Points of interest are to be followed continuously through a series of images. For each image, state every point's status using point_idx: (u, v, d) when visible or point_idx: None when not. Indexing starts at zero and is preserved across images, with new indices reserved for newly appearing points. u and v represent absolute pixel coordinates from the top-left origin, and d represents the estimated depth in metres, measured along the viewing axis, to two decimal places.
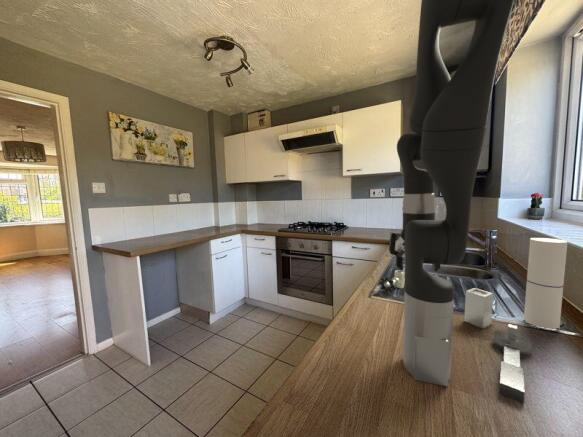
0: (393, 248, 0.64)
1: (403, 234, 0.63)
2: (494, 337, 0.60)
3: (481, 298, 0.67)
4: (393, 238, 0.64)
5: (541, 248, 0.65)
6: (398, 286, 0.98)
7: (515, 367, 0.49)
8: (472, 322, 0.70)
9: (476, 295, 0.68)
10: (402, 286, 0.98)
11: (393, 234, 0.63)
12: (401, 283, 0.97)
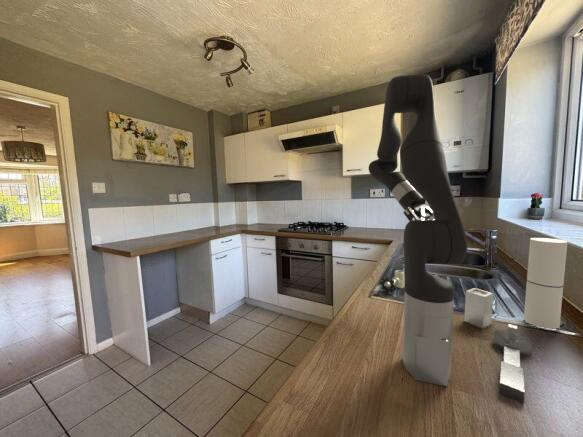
0: (416, 216, 0.75)
1: (413, 208, 0.78)
2: (494, 337, 0.60)
3: (481, 298, 0.67)
4: (411, 210, 0.76)
5: (541, 248, 0.65)
6: (398, 286, 0.98)
7: (515, 367, 0.49)
8: (472, 322, 0.70)
9: (476, 295, 0.68)
10: (402, 286, 0.98)
11: (409, 207, 0.77)
12: (401, 283, 0.97)
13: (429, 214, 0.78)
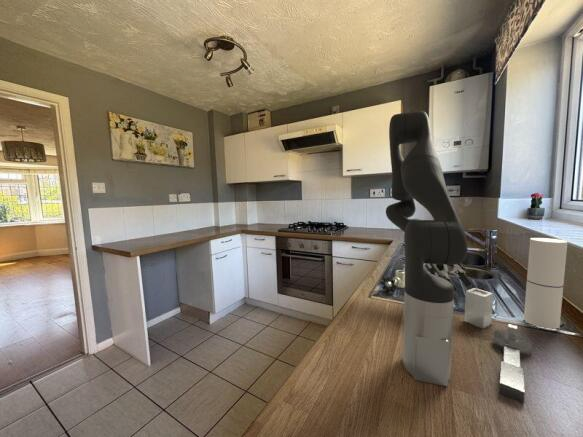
0: (439, 272, 0.73)
1: None
2: (494, 337, 0.60)
3: (481, 298, 0.67)
4: (433, 264, 0.75)
5: (541, 248, 0.65)
6: (399, 286, 0.98)
7: (515, 367, 0.49)
8: (472, 322, 0.70)
9: (476, 295, 0.68)
10: (403, 286, 0.98)
11: None
12: (402, 283, 0.98)
13: (451, 267, 0.77)
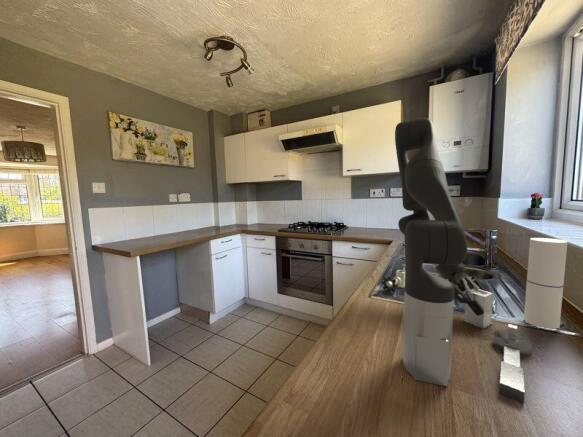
0: (463, 294, 0.69)
1: (454, 280, 0.72)
2: (494, 337, 0.60)
3: (481, 298, 0.67)
4: (455, 286, 0.70)
5: (541, 248, 0.65)
6: (400, 285, 0.98)
7: (515, 367, 0.49)
8: (472, 322, 0.70)
9: (476, 295, 0.68)
10: (404, 285, 0.98)
11: (452, 283, 0.70)
12: (403, 282, 0.98)
13: (469, 286, 0.72)
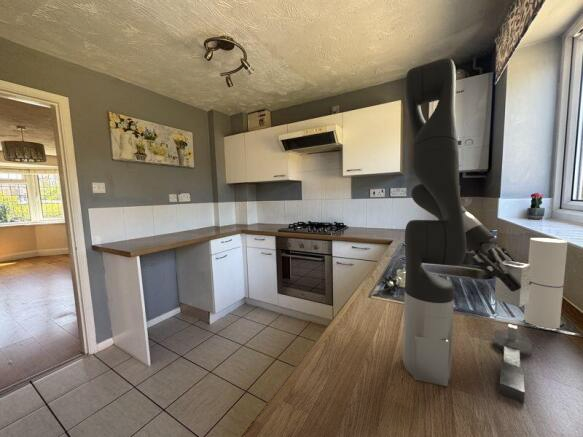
0: (495, 265, 0.57)
1: (482, 250, 0.60)
2: (494, 337, 0.60)
3: (517, 269, 0.56)
4: (484, 257, 0.58)
5: (541, 248, 0.65)
6: (400, 285, 0.99)
7: (515, 367, 0.49)
8: (505, 300, 0.58)
9: (510, 267, 0.57)
10: (404, 285, 0.98)
11: (480, 253, 0.59)
12: (403, 282, 0.98)
13: (500, 257, 0.60)
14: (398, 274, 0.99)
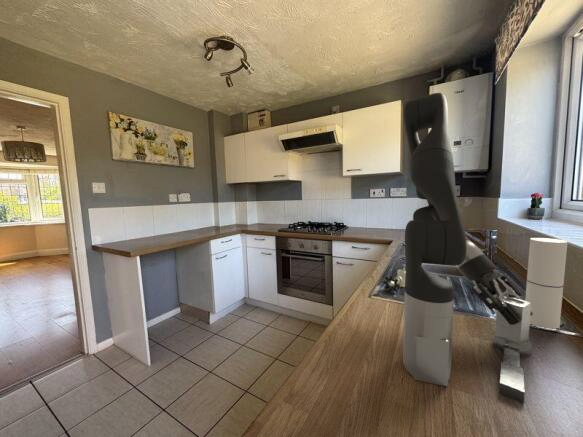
0: (494, 298, 0.57)
1: (483, 281, 0.60)
2: (494, 337, 0.60)
3: (518, 309, 0.56)
4: (484, 288, 0.58)
5: (541, 248, 0.65)
6: (401, 285, 0.99)
7: (515, 367, 0.49)
8: (505, 337, 0.58)
9: (511, 305, 0.57)
10: None
11: (480, 284, 0.59)
12: (404, 282, 0.98)
13: (502, 289, 0.60)
14: (399, 274, 0.99)
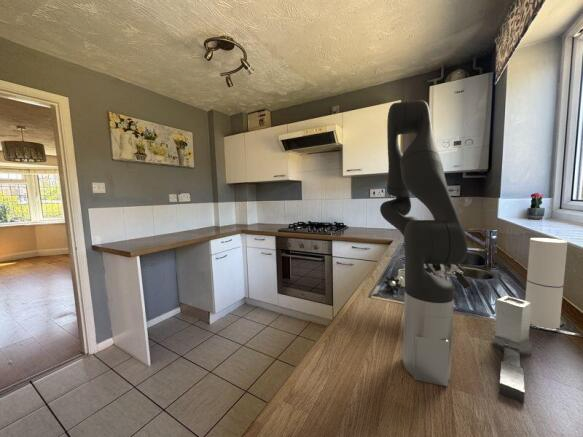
0: (435, 272, 0.69)
1: None
2: (494, 337, 0.60)
3: (518, 309, 0.56)
4: (429, 264, 0.70)
5: (541, 248, 0.65)
6: (402, 285, 0.99)
7: (515, 367, 0.49)
8: (505, 337, 0.58)
9: (511, 305, 0.57)
10: None
11: None
12: None
13: (448, 267, 0.72)
14: (399, 274, 0.99)
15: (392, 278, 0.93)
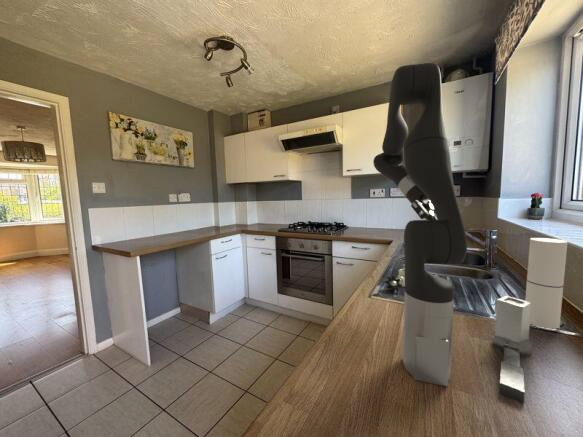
0: (425, 209, 0.72)
1: (421, 200, 0.75)
2: (494, 337, 0.60)
3: (518, 309, 0.56)
4: (419, 203, 0.73)
5: (541, 248, 0.65)
6: (402, 285, 0.99)
7: (515, 367, 0.49)
8: (505, 337, 0.58)
9: (511, 305, 0.57)
10: None
11: (417, 200, 0.74)
12: None
13: None
14: (400, 273, 1.00)
15: (393, 278, 0.93)
